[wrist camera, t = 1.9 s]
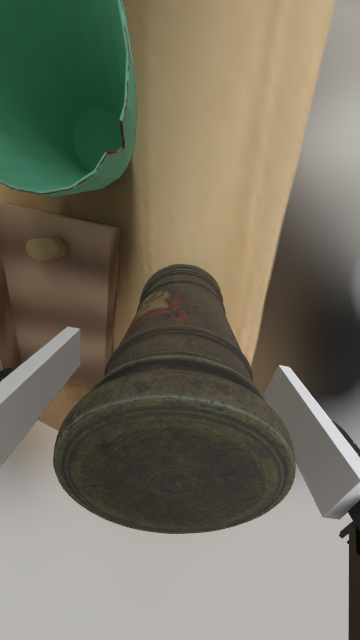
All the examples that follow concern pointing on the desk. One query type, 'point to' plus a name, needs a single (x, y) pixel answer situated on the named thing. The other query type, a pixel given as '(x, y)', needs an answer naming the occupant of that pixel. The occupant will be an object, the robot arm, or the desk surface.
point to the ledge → (57, 286)
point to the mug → (65, 95)
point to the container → (176, 421)
